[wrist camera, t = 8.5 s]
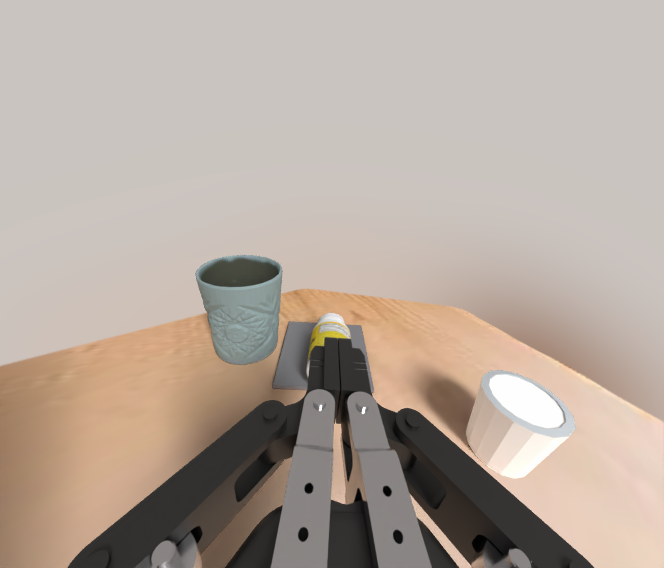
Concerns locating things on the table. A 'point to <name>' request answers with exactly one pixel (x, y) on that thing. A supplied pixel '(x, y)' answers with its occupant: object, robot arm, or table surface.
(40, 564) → the table surface
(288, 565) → the robot arm
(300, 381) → the mat
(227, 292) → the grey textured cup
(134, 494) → the table surface
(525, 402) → the shot glass
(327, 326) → the supplement bottle
